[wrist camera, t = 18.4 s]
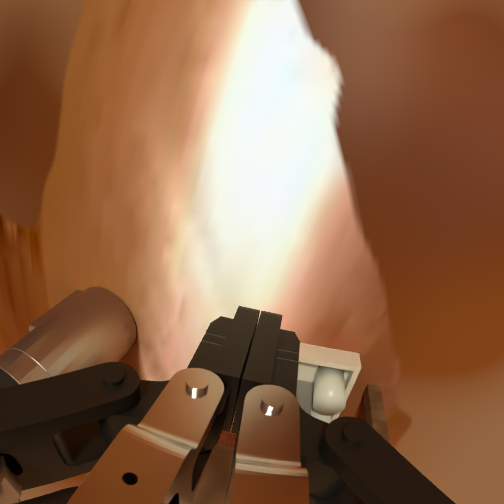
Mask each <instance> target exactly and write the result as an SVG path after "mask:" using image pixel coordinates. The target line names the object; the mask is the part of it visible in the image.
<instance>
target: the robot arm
mask: <svg viewBox="0 0 504 504" xmlns="http://www.w3.org/2000/svg"><path fill="white" fill-rule="evenodd" d="M259 313H260V310H256V309H251V308H247V307H242V306H239V307H238V309H237V312H236V314H235V317H234V319H230V318H226V317H222V316H221V317H219V318H218V319H216V320H214V321H213V322H211V323H210V325H209V327H208V329H207V331H206V334H205V335H204V337H203V339H202V341H201V343H200V345H199V346H198V348H197V350H196V352H195V354H194V356H193V358H192V360H191V362H190V364H189V366H188V368H187V369H183V370H181V371H179V372H177V373H176V374H174V376H173V377H172V378H171V379H170V380H168V381H145V380H139V375H138V373H137V372H136V371H135V370H134V369H133V368H132V367H131V366H129V365H127V364H124V363H120V362H119V361H120V360H121V358H122V357H123V356H124V355H125V354H126V353H127V352H128V350H129V349H130V348H131V347H132V345H133V344H134V343H135V340H136V333H137V331H136V325H135V322H134V319H133V317H132V315H131V313H130V311H129V309H128V308H127V307H126V305H125V304H124V303H123V302H122V301H121V300H120V299H119V298H118V297H117V296H115V295H114V294H113V293H111V292H109V291H107V290H105V289H102V288H95V287H93V288H88V289H87V290H85V291H83V292H81V291H78V290H76V291H75V292H74V293H72V294H71V295H69V296H68V297H67V298H65V299H64V300H62V301H61V302H60V303H58V304H57V305H56V306H54V307H53V308H52V309H50V310H49V311H47V312H46V313H45V314H43V315H42V316H41V317H39V318H38V319H37V320H35V321H34V322H33V323H31V324H30V326H29V333H28V334H27V335H25V336H24V337H23V338H22V339H20V340H19V341H18V342H17V343H15V344H14V345H13V346H12V347H10V348H9V349H8V350H7V351H6V352H5V353H3V354H2V355H1V356H0V504H192V501H193V498H194V496H195V493H196V491H197V489H198V487H199V485H200V482H201V480H202V478H203V476H204V473H205V471H206V469H207V467H208V464H209V462H210V460H211V458H212V455H213V453H214V451H215V447H216V445H217V443H218V441H219V438H220V435H221V431H222V430H225V431H230V428H231V425H232V421H233V418H234V414H235V418H234V423H233V428H232V432H234V433H237V437H236V441H235V446H234V450H233V454H232V460H231V466H230V472H229V477H228V483H227V489H226V495H225V501H224V504H455V503H454V502H453V501H452V500H451V499H449V498H448V497H447V496H446V495H445V494H444V493H443V492H442V491H441V490H439V489H438V488H437V487H436V486H435V485H434V484H433V483H432V482H430V481H429V480H428V479H427V478H426V477H425V476H424V475H422V473H421V472H419V471H418V470H417V469H416V468H415V467H414V466H413V465H412V464H411V463H410V462H409V461H407V460H406V459H405V458H404V457H403V456H402V455H401V454H400V453H399V452H398V451H397V450H396V449H395V448H394V447H392V446H391V445H390V444H389V443H388V442H387V441H386V440H385V439H384V438H383V437H382V436H381V435H380V434H379V433H378V432H377V431H376V430H375V429H373V428H372V427H371V426H370V425H369V424H368V423H366V422H365V421H363V420H361V419H358V418H354V417H340V418H337V419H335V420H333V421H331V422H330V423H327V422H324V421H322V420H319V419H317V418H315V417H313V416H311V415H309V414H308V413H306V412H305V411H304V410H303V409H302V408H301V406H300V405H299V403H298V400H297V397H296V391H297V378H298V365H299V363H298V362H299V350H300V341H299V339H298V337H297V336H296V334H295V332H292V331H287V330H282V329H280V326H281V320H282V315H280V314H275V313H271V312H266V311H261V315H260V318H259ZM258 319H259V322H258ZM257 324H258V325H257ZM236 407H237V408H236ZM235 411H236V413H235ZM87 472H90V473H89V474H88V475H87V477H86V478H85V479H84V481H83V482H82V484H81V485H80V486H77V487H71V488H66V489H62V490H59V491H56V492H53V493H50V494H46V495H43V496H40V497H36V498H33V499H29V500H25V501H22V502H20V496H21V491H22V490H26V489H30V488H34V487H38V486H42V485H46V484H50V483H54V482H57V481H61V480H64V479H67V478H71V477H74V476H77V475H80V474H83V473H87Z"/></svg>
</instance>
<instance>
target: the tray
mask: <svg viewBox="0 0 504 504" xmlns="http://www.w3.org/2000/svg"><path fill="white" fill-rule="evenodd" d="M298 363H299V365H298V378H297V391H296V397H297V400H298V403H299V405H300V406H301V408H302V409H303V410H304V411H305V412H306V413H308V414H309V415H311V416H313V417H315V418H317V419H319V420H322V421H324V422H327V423H330V422H331V421H333V420H335V419H337V418H338V416H339V414H340V412H341V411H342V410H343V409H344V408H345V406H346V400H347V398H348V396H349V394H350V392H351V389H352V387H353V385H354V383H355V381H356V378H357V376H358V374H359V372H360V369H361V362H360V355H359V353H355V352H349V351H343V350H337V349H332V348H326V347H321V346H316V345H310V344H305V343H300V350H299V362H298ZM236 408H237V407H236Z"/></svg>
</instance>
